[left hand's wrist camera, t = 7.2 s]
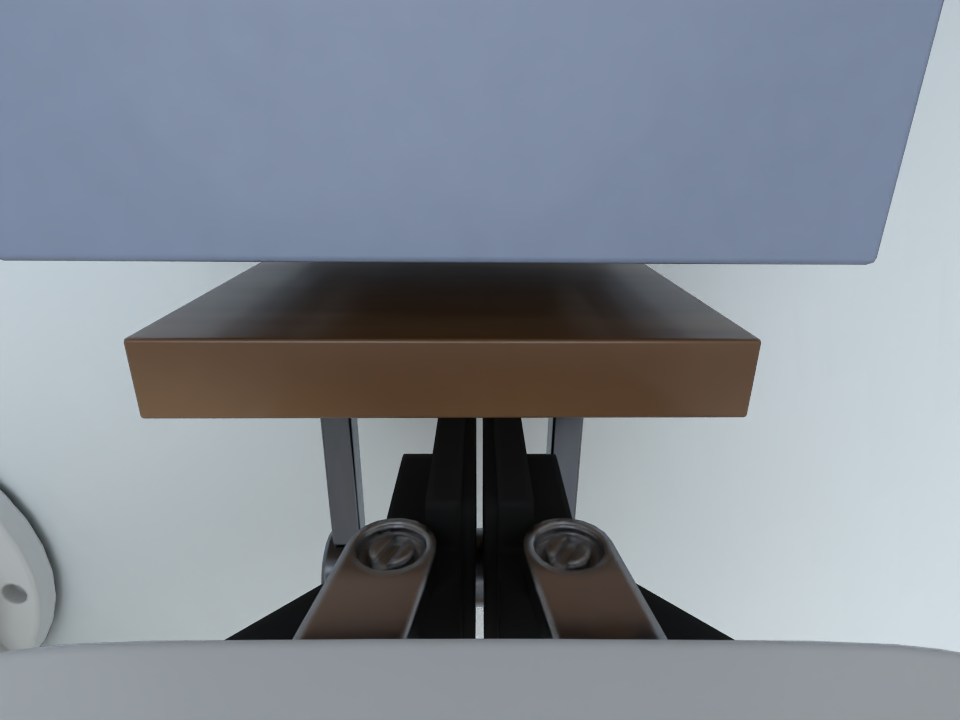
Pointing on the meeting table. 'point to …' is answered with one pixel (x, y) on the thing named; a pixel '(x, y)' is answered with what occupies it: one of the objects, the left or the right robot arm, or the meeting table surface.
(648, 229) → the cabinet
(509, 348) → the drawer
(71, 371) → the meeting table surface
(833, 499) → the meeting table surface
